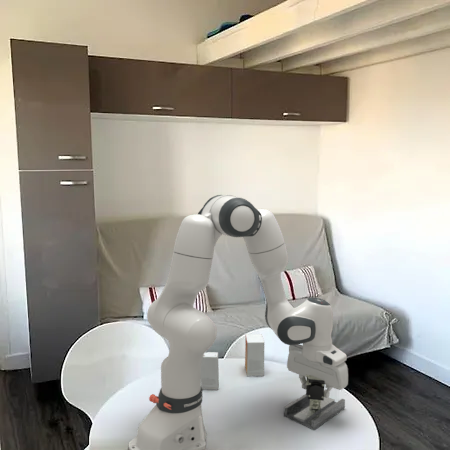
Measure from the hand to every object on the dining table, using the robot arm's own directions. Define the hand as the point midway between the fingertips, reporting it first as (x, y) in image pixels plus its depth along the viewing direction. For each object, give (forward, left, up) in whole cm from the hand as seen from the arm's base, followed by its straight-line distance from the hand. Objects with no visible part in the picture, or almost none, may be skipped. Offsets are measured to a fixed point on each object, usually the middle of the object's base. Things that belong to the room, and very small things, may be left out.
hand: (315, 392), depth 157 cm
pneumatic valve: (0, +1, -5) cm, 5 cm away
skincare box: (-12, +35, -7) cm, 37 cm away
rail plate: (0, 0, -7) cm, 7 cm away
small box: (+8, +32, -7) cm, 34 cm away
